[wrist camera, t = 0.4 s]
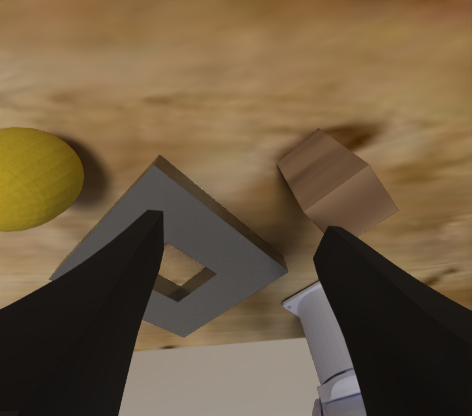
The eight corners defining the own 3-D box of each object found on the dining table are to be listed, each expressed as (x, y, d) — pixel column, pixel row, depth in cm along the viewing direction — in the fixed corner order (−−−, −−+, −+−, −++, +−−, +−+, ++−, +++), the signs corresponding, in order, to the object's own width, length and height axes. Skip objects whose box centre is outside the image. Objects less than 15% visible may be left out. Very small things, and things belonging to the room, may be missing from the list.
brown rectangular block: (343, 163, 19) (399, 210, 13) (303, 193, 20) (338, 248, 15) (318, 128, 17) (369, 164, 12) (276, 163, 19) (303, 211, 13)
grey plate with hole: (283, 257, 25) (288, 271, 23) (185, 321, 30) (183, 337, 28) (159, 154, 18) (153, 164, 16) (61, 263, 23) (48, 279, 21)
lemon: (73, 198, 19) (-4, 274, 13) (3, 146, 17) (-142, 206, 10) (118, 161, 18) (58, 224, 11) (48, 96, 15) (-86, 128, 8)
